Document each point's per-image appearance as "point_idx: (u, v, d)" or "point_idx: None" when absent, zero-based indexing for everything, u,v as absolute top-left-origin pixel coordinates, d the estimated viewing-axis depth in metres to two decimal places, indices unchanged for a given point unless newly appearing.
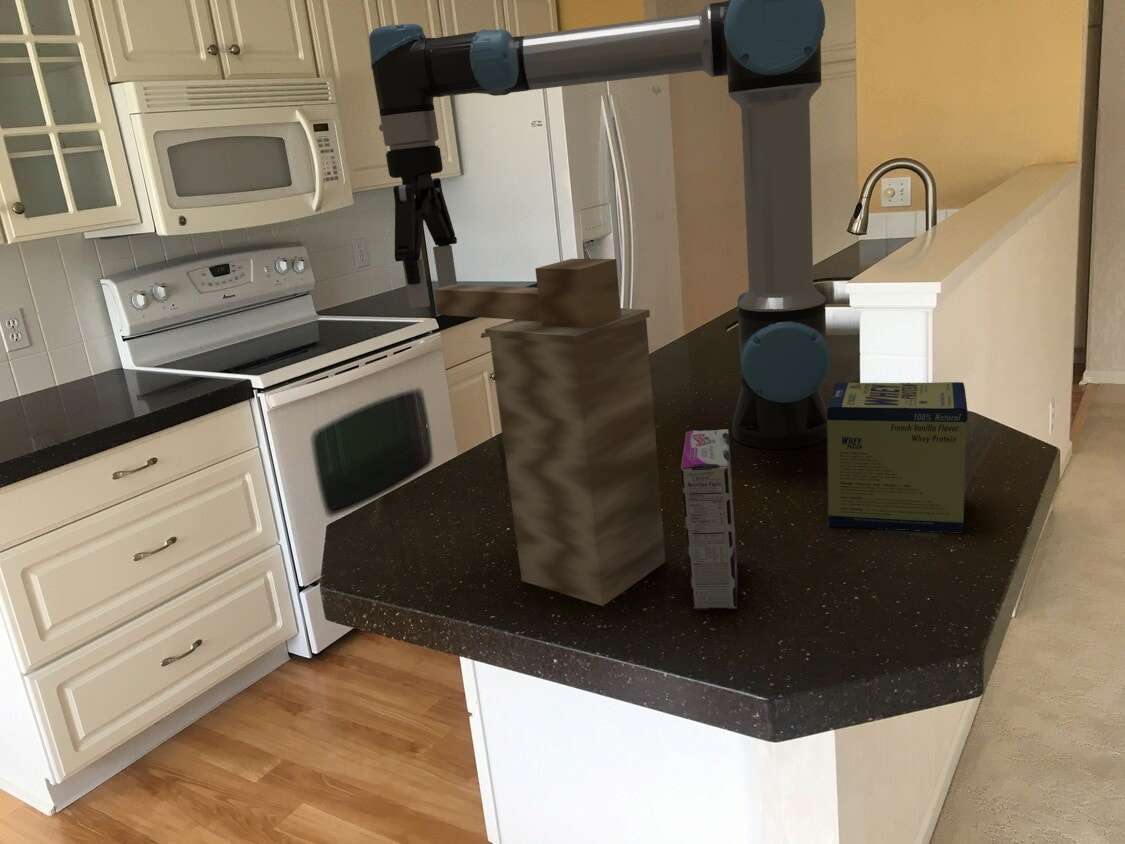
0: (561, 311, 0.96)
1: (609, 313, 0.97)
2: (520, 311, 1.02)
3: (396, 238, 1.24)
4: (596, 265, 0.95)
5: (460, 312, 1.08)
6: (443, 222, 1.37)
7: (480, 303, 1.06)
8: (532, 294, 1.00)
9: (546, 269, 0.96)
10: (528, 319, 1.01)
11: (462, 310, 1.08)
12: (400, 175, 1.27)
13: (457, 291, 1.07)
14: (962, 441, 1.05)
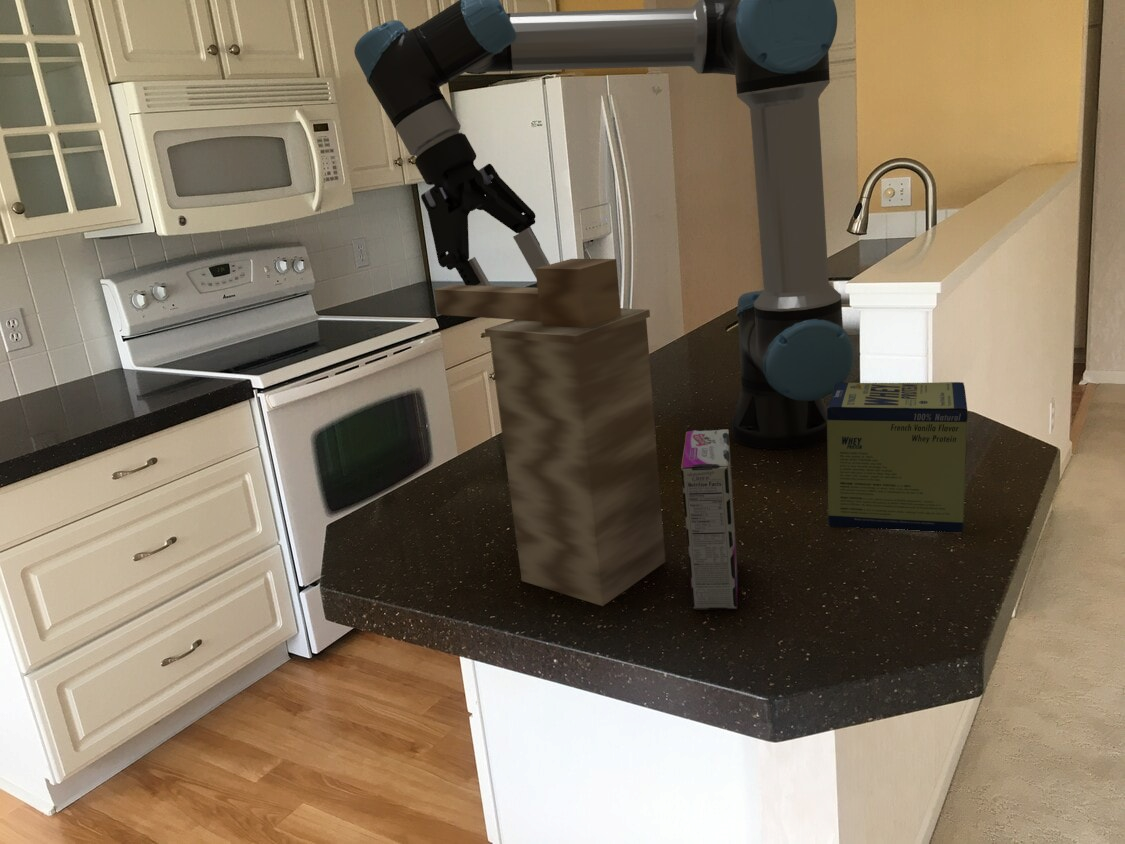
0: (561, 311, 0.96)
1: (609, 313, 0.97)
2: (520, 311, 1.02)
3: (436, 246, 1.16)
4: (596, 265, 0.95)
5: (460, 312, 1.08)
6: (508, 207, 1.25)
7: (480, 303, 1.06)
8: (532, 294, 1.00)
9: (546, 269, 0.96)
10: (528, 319, 1.01)
11: (462, 310, 1.08)
12: (430, 180, 1.19)
13: (457, 291, 1.07)
14: (962, 441, 1.05)
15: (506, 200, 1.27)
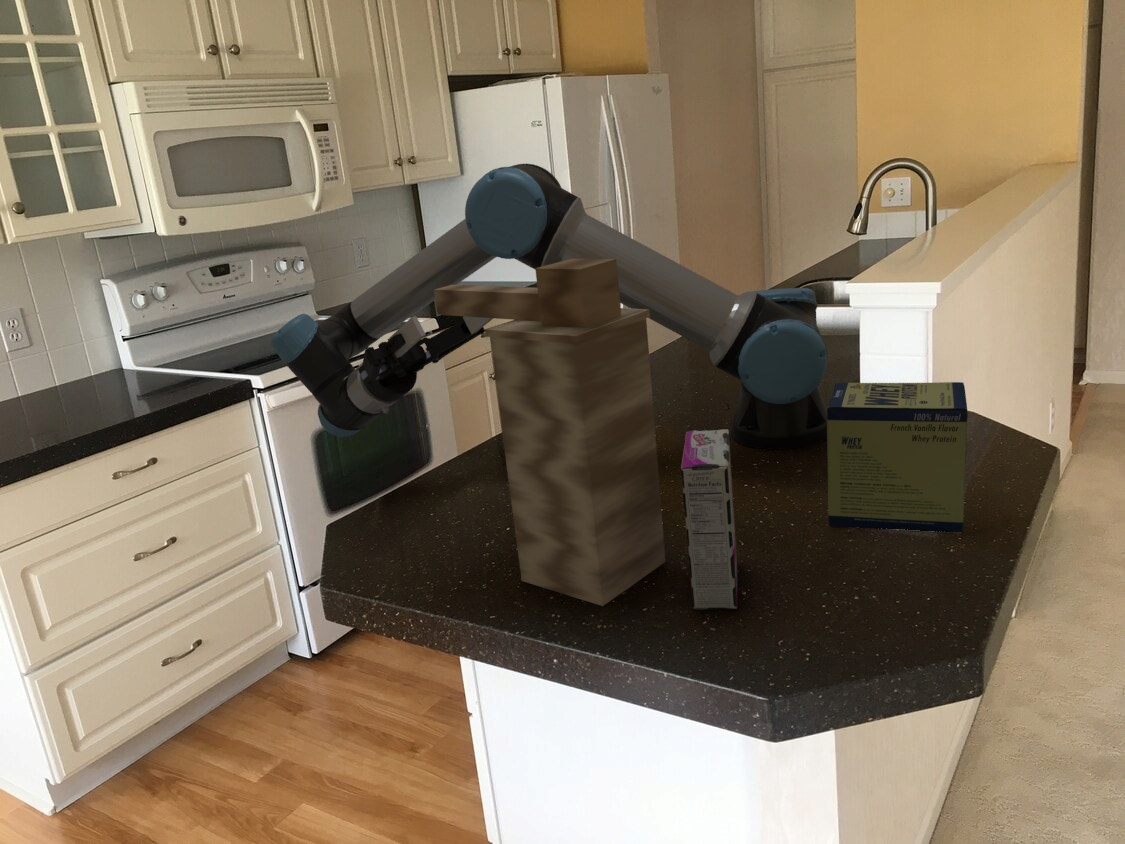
0: (561, 311, 0.96)
1: (609, 313, 0.97)
2: (520, 311, 1.02)
3: (371, 368, 1.23)
4: (596, 265, 0.95)
5: (460, 312, 1.08)
6: None
7: (480, 303, 1.06)
8: (532, 294, 1.00)
9: (546, 269, 0.96)
10: (528, 319, 1.01)
11: (462, 310, 1.08)
12: (378, 382, 1.32)
13: (457, 291, 1.07)
14: (962, 441, 1.05)
15: None
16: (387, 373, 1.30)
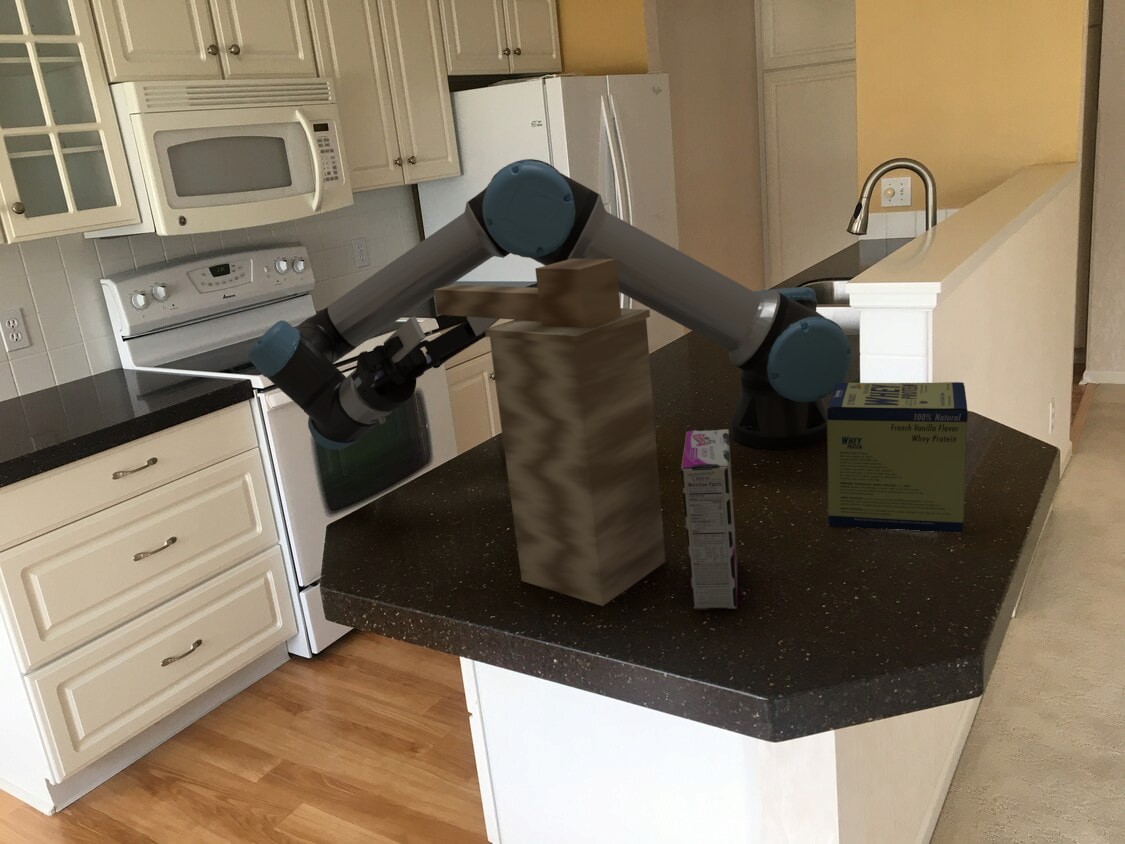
0: (561, 311, 0.96)
1: (609, 313, 0.97)
2: (520, 311, 1.02)
3: (365, 375, 1.10)
4: (596, 265, 0.95)
5: (460, 312, 1.08)
6: None
7: (480, 303, 1.06)
8: (532, 294, 1.00)
9: (546, 269, 0.96)
10: (528, 319, 1.01)
11: (462, 310, 1.08)
12: (373, 390, 1.20)
13: (457, 291, 1.07)
14: (962, 441, 1.05)
15: None
16: (383, 380, 1.18)
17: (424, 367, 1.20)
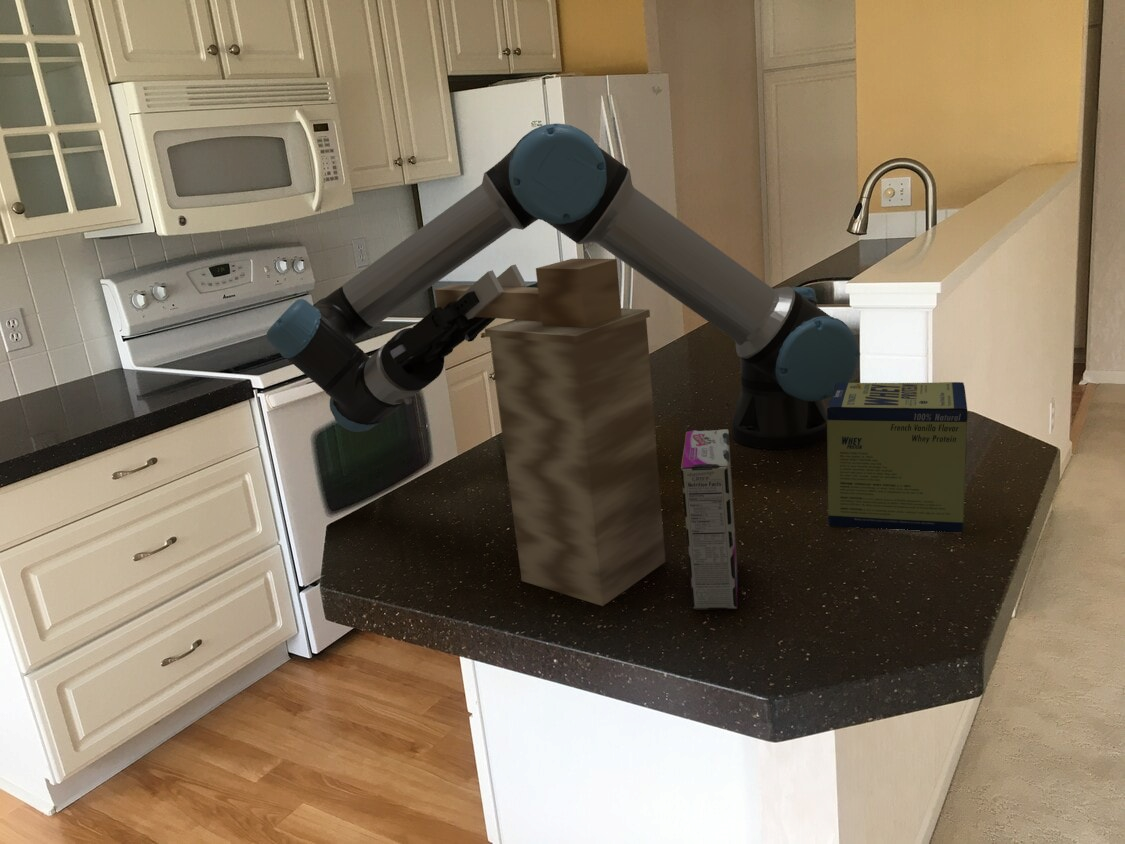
0: (561, 311, 0.96)
1: (609, 313, 0.97)
2: (521, 311, 1.02)
3: (431, 334, 1.07)
4: (596, 265, 0.95)
5: None
6: None
7: None
8: (532, 294, 1.00)
9: (546, 269, 0.96)
10: (528, 319, 1.01)
11: None
12: (401, 368, 1.15)
13: (458, 291, 1.08)
14: (962, 441, 1.05)
15: None
16: (412, 357, 1.13)
17: None
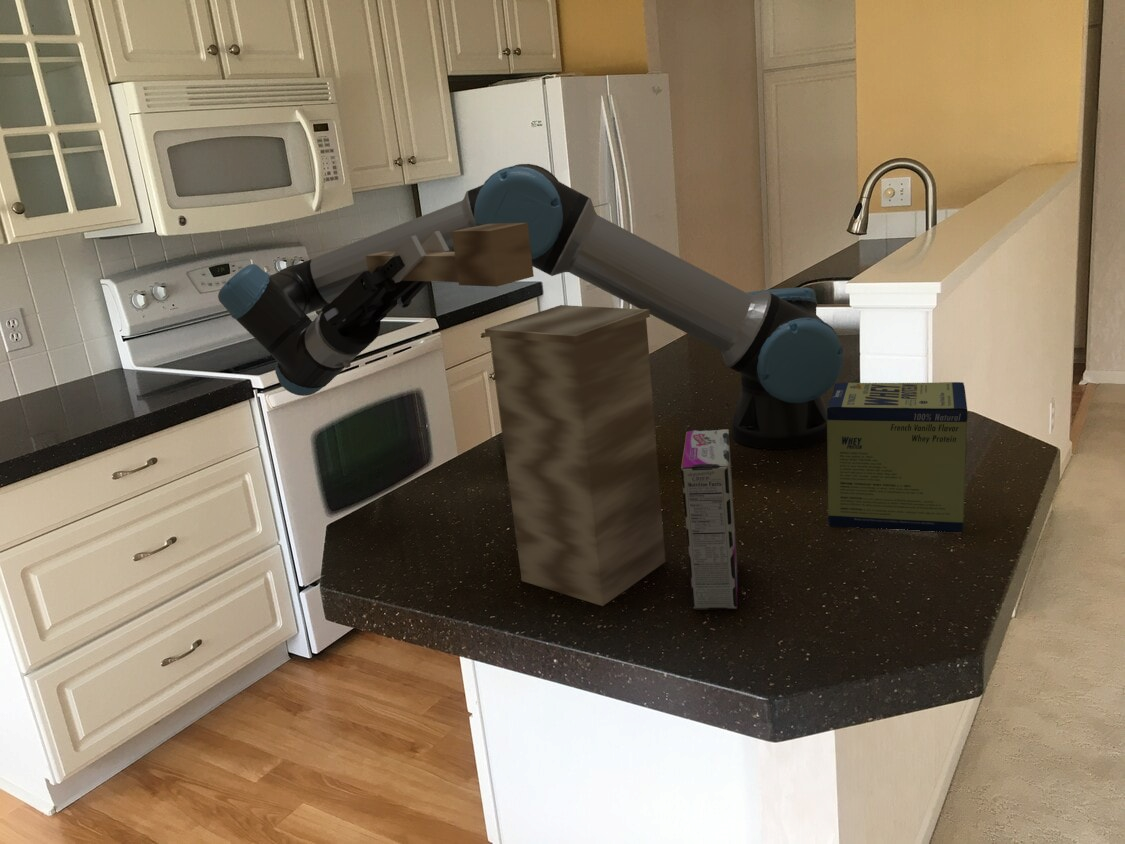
0: (475, 271, 1.03)
1: (521, 274, 1.04)
2: (441, 273, 1.08)
3: (360, 296, 1.13)
4: (507, 228, 1.01)
5: None
6: None
7: None
8: (451, 257, 1.07)
9: (461, 232, 1.02)
10: (448, 281, 1.08)
11: None
12: (337, 331, 1.22)
13: (386, 256, 1.14)
14: (962, 441, 1.05)
15: None
16: (346, 320, 1.20)
17: None
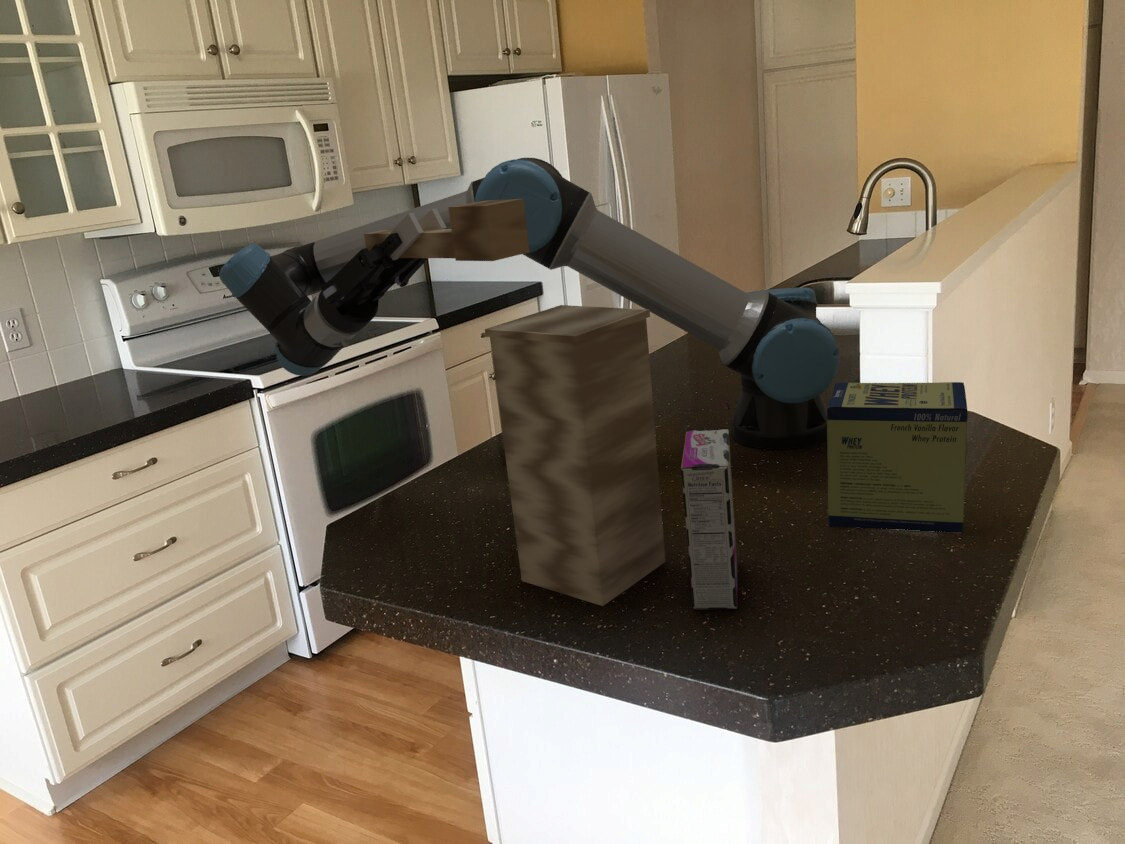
0: (471, 246, 1.04)
1: (517, 249, 1.05)
2: (438, 250, 1.10)
3: (359, 274, 1.15)
4: (503, 203, 1.03)
5: None
6: None
7: None
8: (448, 233, 1.08)
9: (457, 207, 1.04)
10: (445, 257, 1.09)
11: None
12: (335, 309, 1.23)
13: (384, 234, 1.15)
14: (962, 441, 1.05)
15: None
16: (344, 299, 1.21)
17: None
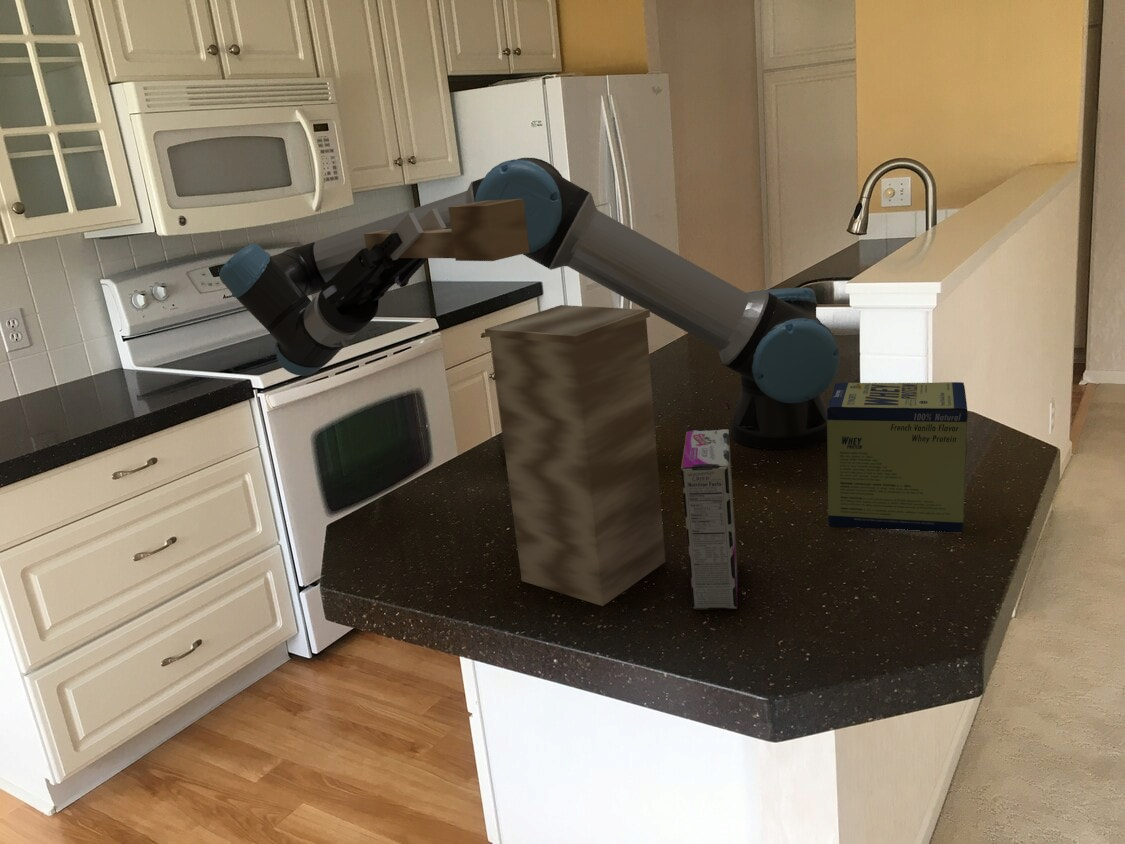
0: (471, 246, 1.04)
1: (517, 249, 1.05)
2: (438, 250, 1.10)
3: (359, 274, 1.15)
4: (503, 203, 1.03)
5: None
6: None
7: None
8: (448, 233, 1.08)
9: (457, 207, 1.04)
10: (445, 257, 1.09)
11: None
12: (335, 309, 1.23)
13: (384, 234, 1.15)
14: (962, 441, 1.05)
15: None
16: (344, 299, 1.21)
17: None
